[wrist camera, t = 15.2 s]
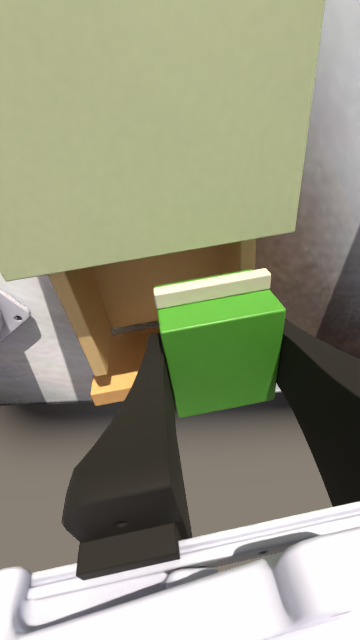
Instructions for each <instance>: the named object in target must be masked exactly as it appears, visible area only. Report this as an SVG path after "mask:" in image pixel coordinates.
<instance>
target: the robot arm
mask: <svg viewBox="0 0 360 640" xmlns="http://www.w3.org/2000/svg"><path fill="white" fill-rule="evenodd" d="M16 315H17V316H20V317H21V318H18V317H17V316H16ZM30 315H31V312H30V310H29V309H28V308H27V307H25V306H24V305H22V304H21V303H19V302H18V301H17V300H15V299H14V298H12V297H11V296H9V295H8V294H6V293H5V292H4V291H2V290H1V289H0V342H1V341H3V340H4V339H5V338H6V337H7V336H8V335H10V334H11V333H12V332H13V331H14V330H15V329H17V328H18V327H19V326H20V325H21V324H22V323H23V322H25V321H26V320H27V319H28V318H29V317H30ZM276 383H277V384H278V386H279V388H280V389H281V391H282V393H283V394H284V396H285V398H286V399H287V401H288V403H289V405H290V406H291V408H292V410H293V412H294V414H295V416H296V418H297V420H298V423H299V425H300V427H301V429H302V431H303V433H304V436H305V438H306V441H307V443H308V445H309V447H310V449H311V452H312V454H313V457H314V459H315V462H316V464H317V467H318V469H319V472H320V474H321V476H322V479H323V481H324V484H325V487H326V490H327V492H328V495H329V498H330V500H331V503H332V505H333V507H331V508H326V509H322V510H317V511H312V512H308V513H303V514H299V515H294V516H290V517H286V518H281V519H276V520H271V521H267V522H263V523H258V524H253V525H249V526H244V527H240V528H235V529H230V530H226V531H221V532H217V533H212V534H208V535H203V536H199V537H194V538H192V533H191V526H190V520H189V513H188V507H187V501H186V494H185V488H184V482H183V475H182V469H181V463H180V456H179V449H178V443H177V436H176V427H175V410H174V396H173V391H172V386H171V382H170V377H169V372H168V368H167V363H166V359H165V354H164V349H163V345H162V340H161V335H160V333H155V334H150V335H149V336H148V342H147V346H146V350H145V353H144V357H143V359H142V362H141V365H140V368H139V371H138V373H137V375H136V378H135V380H134V382H133V385H132V387H131V389H130V391H129V393H128V395H127V396H126V398H125V400H124V402H123V404H122V405H121V407H120V409H119V411H118V412H117V414H116V416H115V417H114V418H113V420H112V422H111V423H110V424H109V426H108V427H107V429H106V430H105V431H104V433H103V434H102V435H101V437H100V438H99V439H98V441H97V442H96V443H95V445H94V446H93V447H92V449H91V450H90V451H89V452H88V453H87V454H86V456H85V457H84V458H83V459H82V460H81V461H80V463H79V464H78V465H77V466H76V467H75V468H74V471H73V474H72V477H71V480H70V483H69V487H68V490H67V494H66V498H65V505H64V510H63V516H62V524H63V525H64V527H65V528H66V530H67V531H68V532H70V533H71V534H72V535H73V536H74V537H75V538H76V539H77V540H78V541H79V542H80V545H79V553H78V561H77V563H75V564H71V565H66V566H62V567H57V568H53V569H48V570H43V571H39V572H35V573H31V572H30V571H29V570H28V569H26V568H24V567H9V568H4V569H0V640H360V359H358V358H356V357H354V356H351V355H349V354H347V353H345V352H343V351H340V350H338V349H336V348H334V347H332V346H330V345H328V344H327V343H325V342H323V341H321V340H319V339H317V338H316V337H314V336H312V335H310V334H309V333H307V332H305V331H304V330H302V329H300V328H299V327H297V326H296V325H294V324H292V323H291V322H289V321H288V320H286V319H285V322H284V329H283V337H282V344H281V351H280V359H279V366H278V373H277V381H276ZM280 552H281V553H280ZM275 553H278V554H275ZM271 554H275V555H271ZM267 555H271V556H268V557H265V558H262V559H259V560H256V561H253V562H249V563H246V564H243V565H240V566H237V567H234V568H231V569H228V570H225V571H221V572H218V571H217V569H216V568H214V567H218V566H222V565H226V564H231V563H235V562H239V561H244V560H248V559H253V558H258V557H262V556H267Z"/></svg>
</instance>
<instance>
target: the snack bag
mask: <svg viewBox="0 0 360 640" xmlns="http://www.w3.org/2000/svg"><path fill="white" fill-rule="evenodd" d="M270 281H271V274H270V272H269V271H268V270H267V269H265V268H263V269H258V270H252V269H248V270H243V271H237V272H232V273H226V274H220V275H215V276H209V277H203V278H198V279H192V280H187V281H181V282H175V283H170V284H164V285H159V286H155V287H154V289H153V292H154V299H155V303H156V308H157V314H158V321H159V329H160V335H161V340H162V345H163V349H164V354H165V359H166V363H167V368H168V372H169V377H170V382H171V386H172V391H173V396H174V400H175V405H176V410H177V414H178V417H179V418H184V417H188V416H194V415H199V414H204V413H209V412H214V411H219V410H223V409H229V408H233V407H238V406H243V405H248V404H253V403H259V402H263V401H268V400H273V399H274V395H275V388H276V381H277V373H278V366H279V359H280V351H281V344H282V337H283V329H284V322H285V315H286V309H285V308H284V306H283V305H282V304H281V303H280V302H279V301H278V299H277V298H276V297H275V296H274V295H273V293H272V292H271V291H270V290H269V289H270Z"/></svg>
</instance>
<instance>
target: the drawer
mask: <svg viewBox="0 0 360 640" xmlns="http://www.w3.org/2000/svg"><path fill="white" fill-rule="evenodd" d="M255 252H256V239H251V240H245V241H240V242H234V243H228V244H222V245H216V246H211V247H205V248H199V249H193V250H187V251H181V252H176V253H170V254H164V255H158V256H152V257H146V258H141V259H135V260H129V261H123V262H117V263H112V264H106V265H100V266H94V267H88V268H82V269H77V270H71V271H65V272H59V273H53V274H48V275H49V277H50V279H51V282H52V284H53V286H54V288H55V290H56V293H57V295H58V297H59V299H60V301H61V303H62V306H63V308H64V310H65V312H66V314H67V317H68V319H69V321H70V323H71V325H72V327H73V330H74V332H75V334H76V336H77V338H78V341H79V343H80V345H81V347H82V349H83V351H84V354H85V356H86V358H87V360H88V362H89V364H90V367H91V369H92V371H93V373H94V375H93V381H92V387H91V393H90V396H91V398H92V400H93V402H94V404H95V405H96V406H99V405H104V404H109V403H114V402H119V401H124V400H125V398H126V396H127V395H128V393H129V391H130V389H131V387H132V385H133V382H134V380H135V378H136V375H137V373H138V371H139V368H140V365H141V362H142V359H143V357H144V353H145V350H146V346H147V342H148V336H149V335H150V334H155V333H160V329H159V326H157V327H152V328H146V329H141V330H135V331H130V332H124V333H119V334H113V335H112V329H114V328H119V327H125V326H130V325H136V324H141V323H147V322H152V321H158V314H157V308H156V303H155V299H154V292H153V289H154V287H155V286H159V285H164V284H170V283H175V282H181V281H187V280H192V279H198V278H203V277H209V276H215V275H220V274H226V273H232V272H237V271H243V270H248V269H252V270H255ZM174 410H175V412H177V410H176V405H175V400H174Z"/></svg>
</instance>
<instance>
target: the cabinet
mask: <svg viewBox="0 0 360 640" xmlns="http://www.w3.org/2000/svg"><path fill="white" fill-rule="evenodd" d="M324 5H325V0H0V272H1V274H2V276H3V278H4V279H5V281H13V280H18V279H24V278H30V277H36V276H42V275H47V274H53V273H59V272H65V271H71V270H77V269H82V268H88V267H94V266H100V265H106V264H112V263H117V262H123V261H129V260H135V259H141V258H146V257H152V256H158V255H164V254H170V253H176V252H181V251H187V250H193V249H199V248H205V247H211V246H216V245H222V244H228V243H234V242H240V241H245V240H251V239H257V238H263V237H269V236H275V235H280V234H286V233H292V232H295V226H296V218H297V210H298V203H299V195H300V188H301V180H302V172H303V165H304V157H305V150H306V142H307V134H308V127H309V119H310V112H311V104H312V96H313V89H314V81H315V74H316V66H317V58H318V51H319V43H320V36H321V28H322V20H323V13H324Z"/></svg>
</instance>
